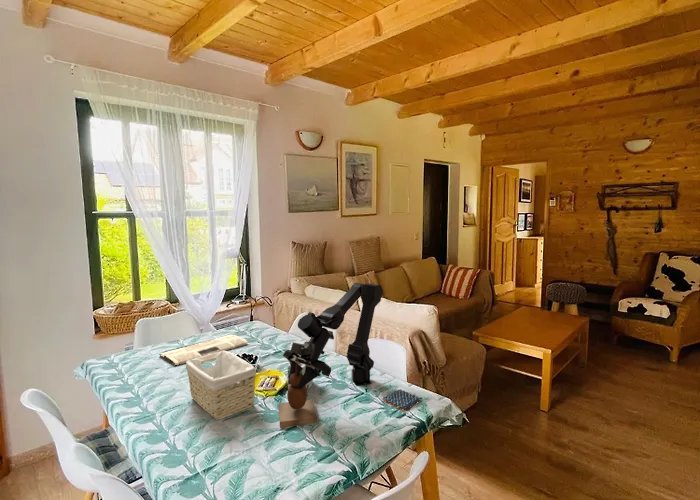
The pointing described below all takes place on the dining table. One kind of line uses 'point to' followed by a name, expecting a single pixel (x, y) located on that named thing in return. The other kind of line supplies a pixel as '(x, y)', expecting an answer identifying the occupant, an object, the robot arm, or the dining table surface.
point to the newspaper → (204, 348)
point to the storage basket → (222, 383)
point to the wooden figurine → (296, 391)
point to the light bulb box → (302, 374)
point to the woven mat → (401, 399)
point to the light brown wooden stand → (297, 414)
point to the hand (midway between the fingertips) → (293, 386)
